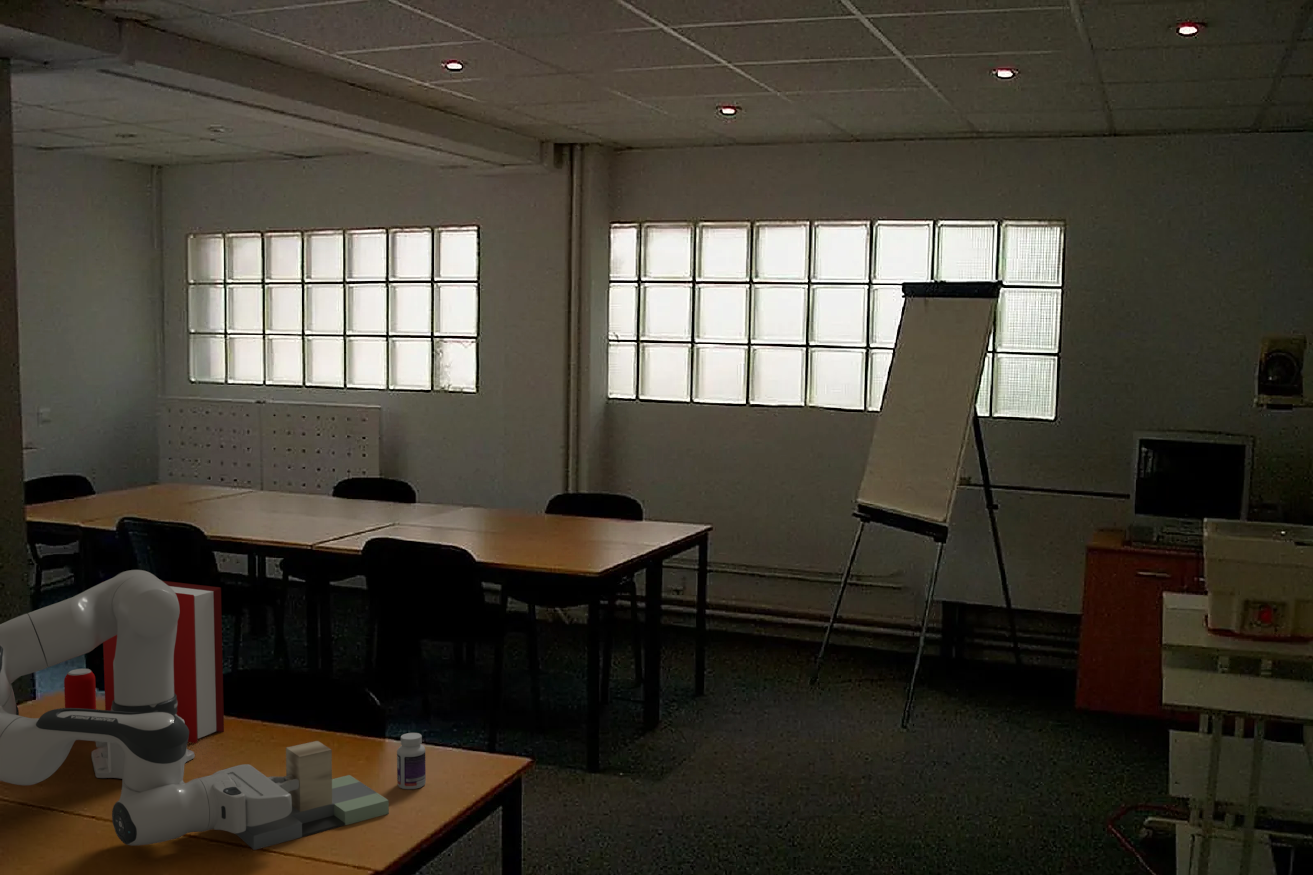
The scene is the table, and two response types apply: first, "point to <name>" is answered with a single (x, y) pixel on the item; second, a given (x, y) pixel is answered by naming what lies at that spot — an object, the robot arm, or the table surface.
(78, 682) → the beverage can
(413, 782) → the pill bottle
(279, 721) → the table surface
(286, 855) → the table surface
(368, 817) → the board
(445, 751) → the table surface
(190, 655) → the book
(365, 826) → the table surface
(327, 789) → the birch block
